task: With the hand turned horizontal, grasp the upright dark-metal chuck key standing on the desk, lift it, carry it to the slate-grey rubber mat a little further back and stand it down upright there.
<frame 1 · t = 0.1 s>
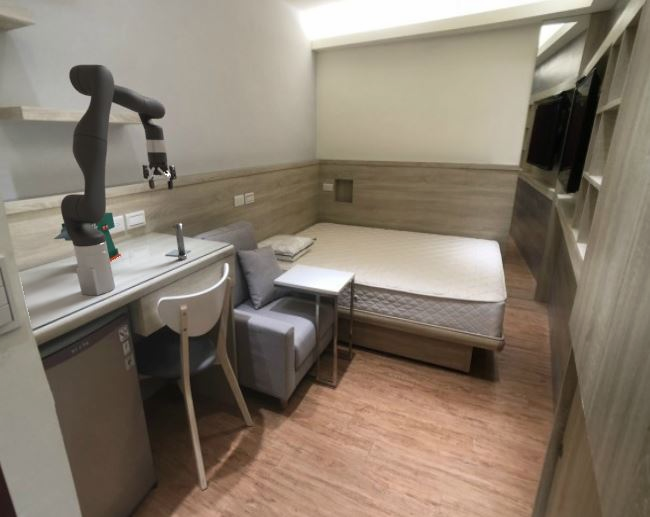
hand: (161, 189, 154), 29 cm above the table, tool pointing down, fingers open, 8 cm apart
rest mat: (178, 253, 161), on the table
power tool: (92, 268, 142), on the table
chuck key: (182, 258, 154), on the table
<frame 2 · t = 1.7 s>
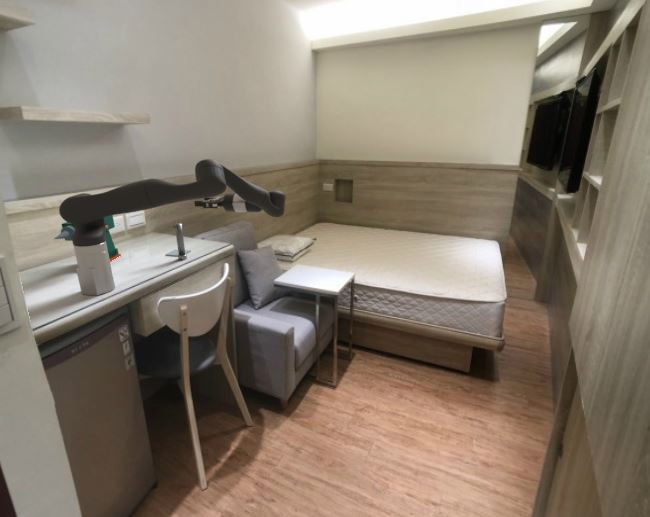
hand: (200, 201, 145), 26 cm above the table, tool horizontal, fingers open, 8 cm apart
nothing on the table moved.
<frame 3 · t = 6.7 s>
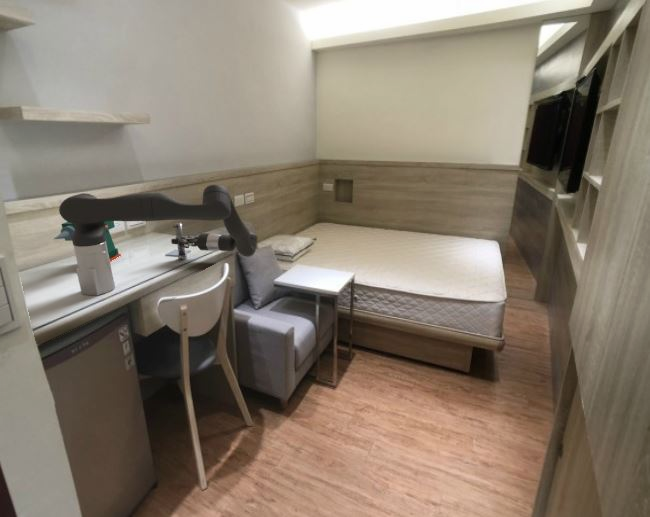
hand: (174, 240, 152), 9 cm above the table, tool horizontal, fingers closed on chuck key, 2 cm apart
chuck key: (182, 258, 154), on the table, touching gripper
everything else where it was.
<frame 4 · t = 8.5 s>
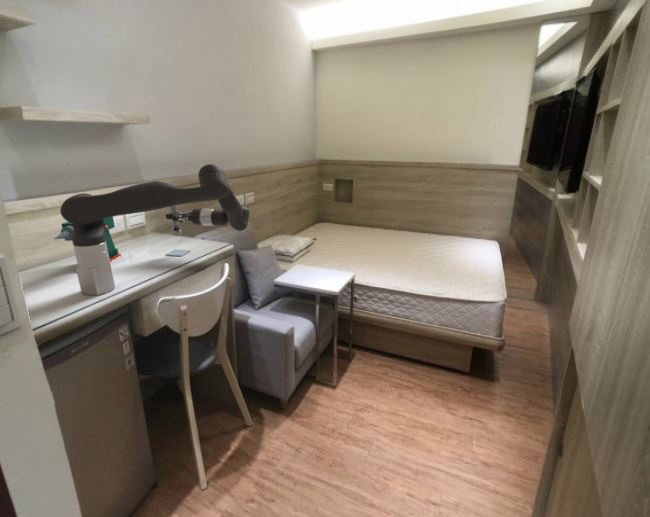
hand: (168, 215, 156), 18 cm above the table, tool horizontal, fingers closed on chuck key, 2 cm apart
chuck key: (177, 234, 158), point 9 cm above the table, touching gripper
everything else where it was.
when the fingers open (10 cm above the table, at t = 10.7 s): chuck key stays where it is, resting on rest mat.
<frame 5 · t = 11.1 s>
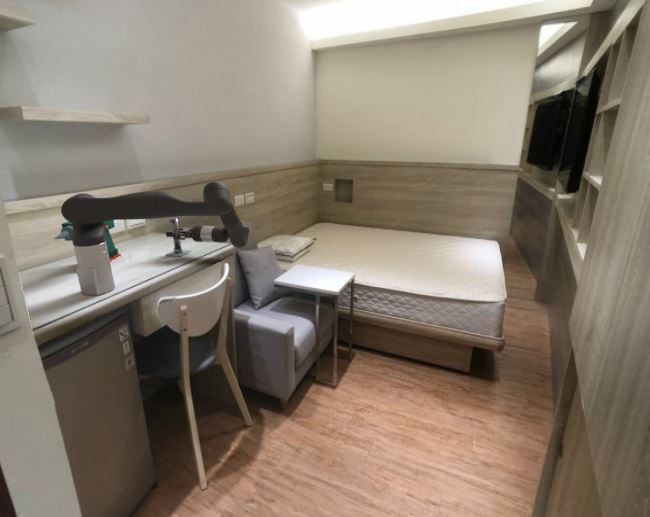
hand: (170, 232, 158), 10 cm above the table, tool horizontal, fingers open, 6 cm apart
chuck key: (178, 252, 161), point 1 cm above the table, touching rest mat
everything else where it was.
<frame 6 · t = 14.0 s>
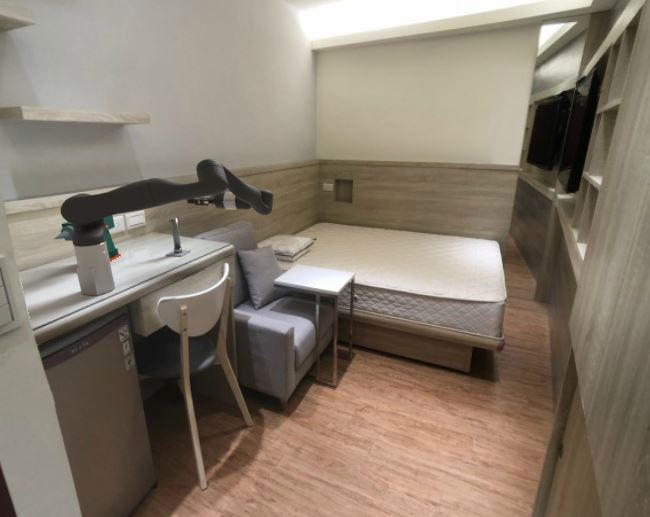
hand: (192, 199, 152), 26 cm above the table, tool horizontal, fingers open, 8 cm apart
nothing on the table moved.
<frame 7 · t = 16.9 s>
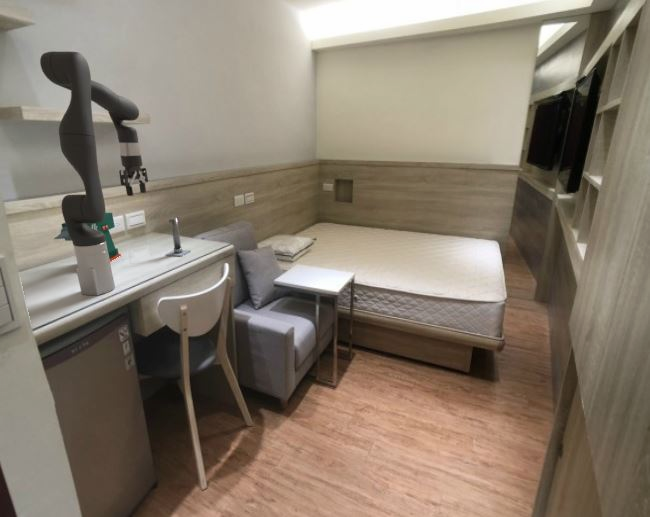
hand: (137, 194, 147), 28 cm above the table, tool pointing down, fingers open, 8 cm apart
nothing on the table moved.
at the end: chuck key inside the target area on the rest mat (0.1 cm from its centre), point 0.5 cm above the rest mat's base; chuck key tilted 0°; the gripper is holding nothing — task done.
